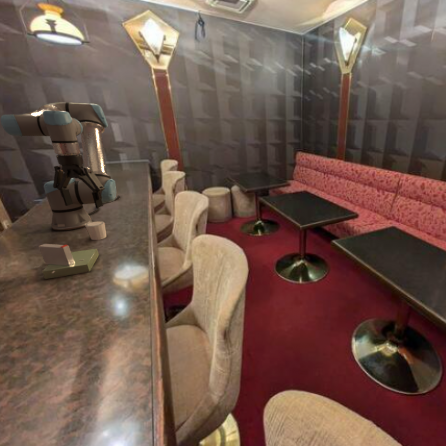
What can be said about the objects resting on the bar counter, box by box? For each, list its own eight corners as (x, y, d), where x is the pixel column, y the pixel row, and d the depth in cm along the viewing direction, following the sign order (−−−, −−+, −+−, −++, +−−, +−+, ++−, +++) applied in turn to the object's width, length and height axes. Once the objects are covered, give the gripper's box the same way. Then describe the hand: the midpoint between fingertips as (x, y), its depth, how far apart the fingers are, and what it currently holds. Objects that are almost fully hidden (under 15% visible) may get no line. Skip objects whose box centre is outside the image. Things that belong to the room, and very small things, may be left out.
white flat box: (45, 264, 86) (38, 245, 83) (51, 261, 87) (44, 242, 85) (69, 265, 85) (62, 247, 82) (74, 263, 87) (68, 244, 84)
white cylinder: (97, 241, 109) (93, 227, 107) (85, 239, 110) (80, 225, 108) (111, 235, 116) (108, 221, 113) (99, 233, 117) (95, 220, 114)
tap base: (49, 262, 92) (46, 255, 91) (98, 255, 98) (96, 248, 97) (28, 285, 79) (25, 277, 78) (87, 275, 85) (85, 267, 84)
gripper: (106, 154, 98) (119, 205, 106) (49, 151, 100) (65, 201, 108) (90, 156, 91) (104, 210, 99) (28, 153, 93) (48, 206, 101)
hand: (84, 205), depth 104 cm, fingers open, 13 cm apart
